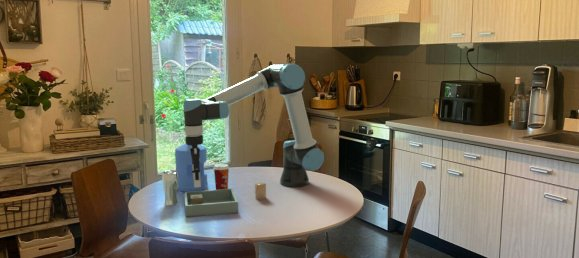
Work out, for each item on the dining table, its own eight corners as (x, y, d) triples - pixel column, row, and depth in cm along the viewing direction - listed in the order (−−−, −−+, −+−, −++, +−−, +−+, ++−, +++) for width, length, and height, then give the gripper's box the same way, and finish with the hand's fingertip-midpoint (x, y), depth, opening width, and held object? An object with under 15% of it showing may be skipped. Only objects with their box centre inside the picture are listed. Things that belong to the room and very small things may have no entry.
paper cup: (226, 195, 215) (226, 167, 213) (211, 194, 217) (210, 166, 214) (232, 191, 223) (231, 163, 220) (217, 190, 224) (216, 163, 222)
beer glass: (182, 202, 205) (180, 170, 203) (173, 207, 199) (172, 174, 197) (169, 200, 208) (167, 169, 205) (160, 205, 201) (158, 173, 199)
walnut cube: (191, 206, 199) (190, 195, 198) (202, 205, 200) (202, 194, 199) (191, 209, 194) (190, 198, 193) (203, 208, 195) (202, 197, 194)
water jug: (170, 190, 223) (167, 135, 219) (188, 182, 238) (186, 130, 233) (196, 194, 218) (194, 137, 213) (213, 185, 232) (211, 132, 228)
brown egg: (264, 196, 214) (264, 182, 213) (266, 199, 209) (266, 185, 208) (254, 197, 213) (254, 183, 212) (256, 200, 208) (256, 185, 207)
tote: (232, 198, 210) (232, 188, 210) (238, 212, 191) (238, 201, 191) (184, 202, 205) (184, 192, 204) (185, 217, 186) (185, 205, 185)
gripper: (184, 130, 203) (187, 175, 206) (185, 140, 179) (188, 191, 182) (201, 129, 204) (203, 174, 208) (204, 139, 181) (207, 190, 184)
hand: (196, 182), depth 195 cm, fingers open, 13 cm apart
